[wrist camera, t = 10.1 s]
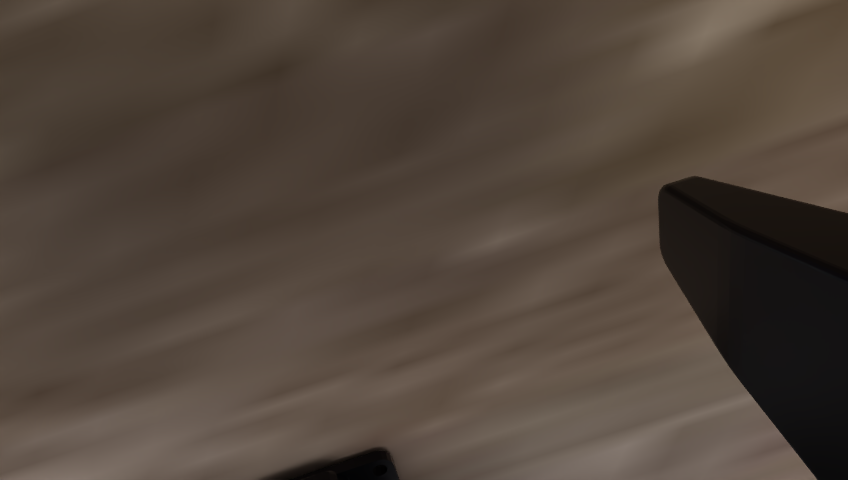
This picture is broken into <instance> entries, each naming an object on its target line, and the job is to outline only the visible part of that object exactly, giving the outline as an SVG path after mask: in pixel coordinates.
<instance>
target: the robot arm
mask: <svg viewBox="0 0 848 480" xmlns="http://www.w3.org/2000/svg"><path fill="white" fill-rule="evenodd" d="M658 209H659V236H660V249H661V253H662V256H663V259H664V261H665V264H666V265H667V267H668V269H669V270H670V272H671V274H672V275H673V277H674V279H675V280H676V282H677V284H678V285H679V287H680V288H681V290H682V292H683V293H684V295H685V297H686V298H687V300H688V302H689V303H690V305H691V306H692V308H693V310H694V311H695V313H696V315H697V316H698V318H699V320H700V321H701V323H702V324H703V326H704V328H705V329H706V331H707V333H708V334H709V336H710V338H711V339H712V341H713V342H714V344H715V346H716V347H717V349H718V351H719V352H720V354H721V355H722V357H723V358H724V360H725V361H726V363H727V364H728V366H729V367H730V368H731V370H732V371H733V372H734V374H735V375H736V376H737V378H738V379H739V380H740V382H741V383H742V384H743V386H744V387H745V388H746V389H747V391H748V392H749V393H750V394H751V396H752V397H753V398H754V400H755V401H756V402H757V403H758V405H759V406H760V407H761V408H762V410H763V411H764V412H765V414H766V415H767V416H768V417H769V419H770V420H771V421H772V422H773V424H774V425H775V426H776V428H777V429H778V430H779V431H780V433H781V434H782V435H783V436H784V438H785V439H786V440H787V441H788V443H789V444H790V445H791V447H792V448H793V449H794V450H795V452H796V453H797V454H798V455H799V457H800V458H801V459H802V461H803V462H804V463H805V464H806V466H807V467H808V468H809V469H810V471H811V472H812V473H813V475H814V476H815V477H816V478H817V480H848V213H845V212H841V211H837V210H832V209H828V208H824V207H820V206H816V205H812V204H808V203H804V202H800V201H796V200H792V199H788V198H784V197H779V196H775V195H771V194H767V193H763V192H759V191H755V190H751V189H747V188H743V187H739V186H735V185H731V184H727V183H723V182H718V181H714V180H710V179H706V178H702V177H698V176H692V177H688V178H685V179H681V180H678V181H675V182H672V183H669V184H666V185H664V186H663V187H662V188H661V190H660V192H659V196H658ZM378 465H382V466H380V467H376V466H378ZM290 480H399V477H398V474H397V471H396V468H395V465H394V462H393V459H392V456H391V455H390V453H388V452H386V451H376V452H372V453H369V454H366V455H363V456H360V457H357V458H354V459H351V460H348V461H345V462H342V463H339V464H336V465H333V466H330V467H327V468H324V469H321V470H318V471H315V472H312V473H309V474H306V475H303V476H300V477H297V478H294V479H290Z"/></svg>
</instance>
